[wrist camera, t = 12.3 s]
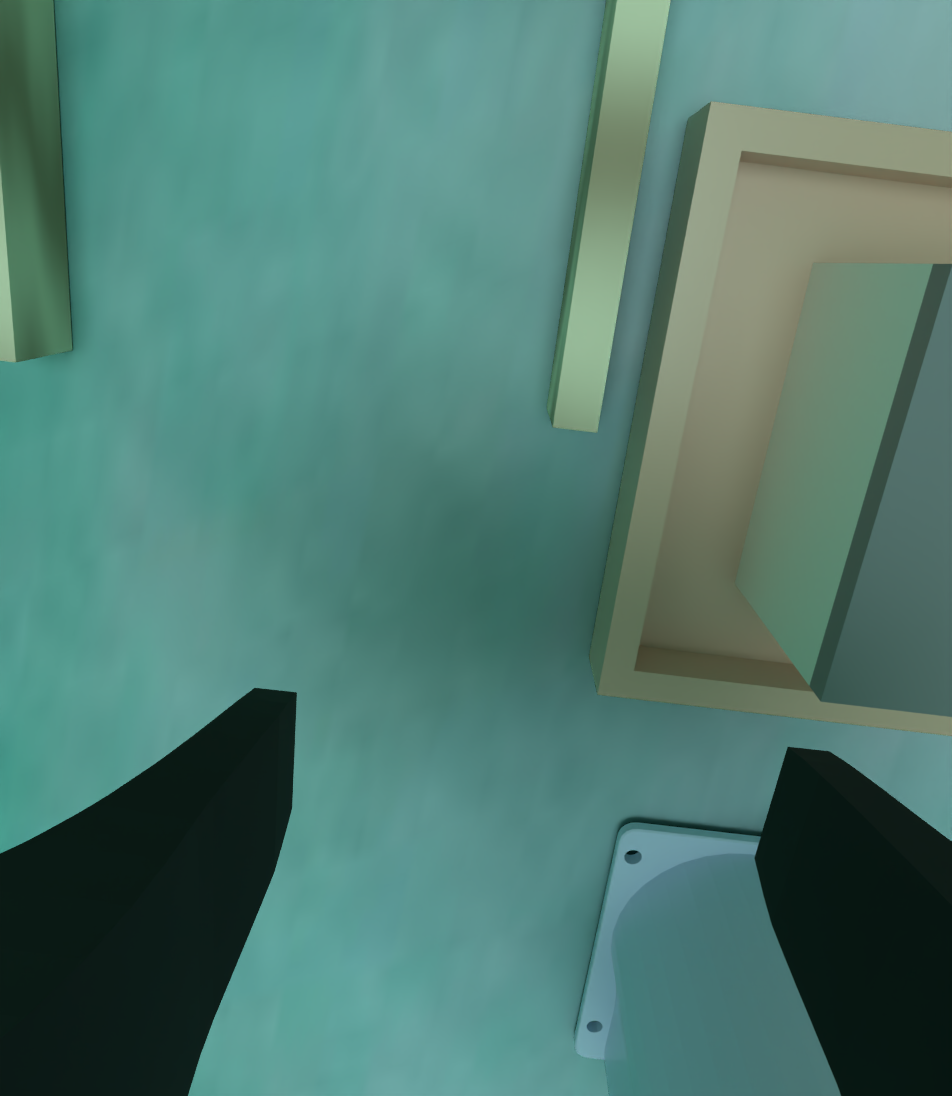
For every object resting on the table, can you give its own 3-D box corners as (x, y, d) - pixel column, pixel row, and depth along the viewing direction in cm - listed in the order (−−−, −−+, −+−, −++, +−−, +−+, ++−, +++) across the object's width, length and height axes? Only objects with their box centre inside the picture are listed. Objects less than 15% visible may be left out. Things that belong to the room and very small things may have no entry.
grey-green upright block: (921, 605, 21) (1075, 731, 15) (734, 583, 21) (820, 701, 15) (1027, 289, 18) (1261, 302, 13) (813, 262, 18) (952, 263, 13)
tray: (993, 704, 23) (1040, 746, 21) (589, 656, 23) (597, 694, 21) (1195, 183, 18) (1279, 173, 16) (688, 118, 18) (711, 101, 16)
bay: (585, 412, 20) (597, 432, 18) (32, 345, 20) (-30, 356, 18) (672, -116, 16) (700, -179, 14) (-7, -204, 16) (-92, -282, 14)
